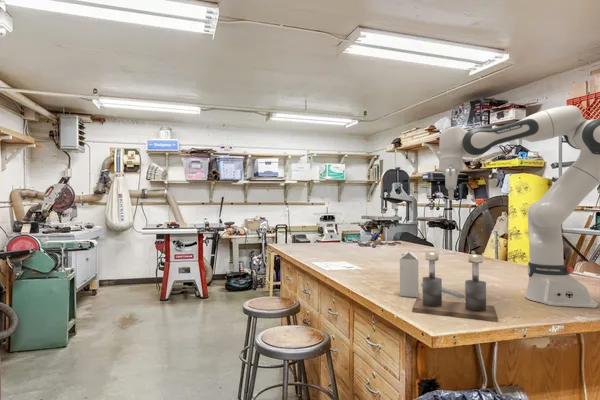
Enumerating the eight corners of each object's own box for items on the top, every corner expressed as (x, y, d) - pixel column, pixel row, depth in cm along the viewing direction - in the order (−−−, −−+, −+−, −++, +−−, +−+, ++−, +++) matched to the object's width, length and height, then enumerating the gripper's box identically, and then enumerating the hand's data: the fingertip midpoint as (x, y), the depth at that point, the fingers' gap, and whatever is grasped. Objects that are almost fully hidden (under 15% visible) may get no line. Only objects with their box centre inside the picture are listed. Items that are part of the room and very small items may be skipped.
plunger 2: (482, 280, 124) (482, 254, 124) (483, 282, 120) (482, 256, 120) (468, 279, 126) (468, 254, 126) (468, 281, 122) (468, 255, 122)
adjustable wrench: (466, 299, 144) (466, 294, 144) (452, 299, 143) (452, 295, 143) (430, 285, 169) (430, 281, 169) (418, 285, 167) (418, 281, 167)
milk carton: (418, 293, 150) (418, 248, 151) (418, 297, 144) (417, 250, 144) (400, 292, 153) (400, 247, 153) (399, 296, 146) (399, 249, 146)
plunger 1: (438, 276, 130) (438, 252, 130) (438, 279, 126) (438, 254, 126) (426, 275, 132) (425, 252, 132) (425, 278, 128) (424, 253, 128)
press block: (493, 310, 127) (493, 279, 127) (497, 321, 114) (497, 287, 114) (416, 302, 138) (416, 273, 138) (412, 311, 125) (412, 280, 125)
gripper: (459, 163, 137) (459, 199, 137) (459, 168, 156) (459, 200, 156) (441, 164, 140) (441, 199, 140) (443, 168, 158) (443, 200, 158)
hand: (451, 200), depth 148 cm, fingers closed
